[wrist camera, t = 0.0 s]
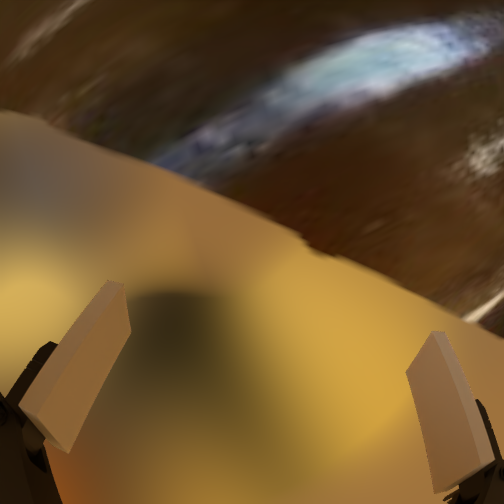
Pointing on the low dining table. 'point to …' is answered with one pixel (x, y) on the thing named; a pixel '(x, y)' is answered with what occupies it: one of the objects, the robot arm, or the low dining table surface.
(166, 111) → the low dining table surface
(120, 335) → the robot arm
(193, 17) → the low dining table surface
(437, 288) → the low dining table surface
